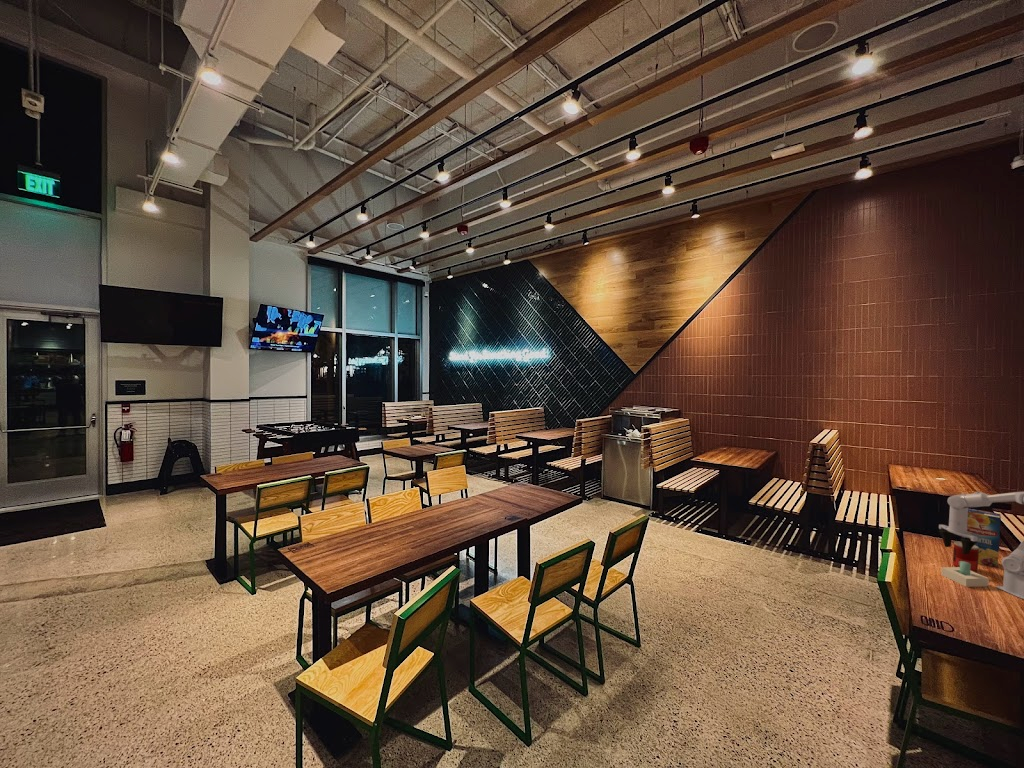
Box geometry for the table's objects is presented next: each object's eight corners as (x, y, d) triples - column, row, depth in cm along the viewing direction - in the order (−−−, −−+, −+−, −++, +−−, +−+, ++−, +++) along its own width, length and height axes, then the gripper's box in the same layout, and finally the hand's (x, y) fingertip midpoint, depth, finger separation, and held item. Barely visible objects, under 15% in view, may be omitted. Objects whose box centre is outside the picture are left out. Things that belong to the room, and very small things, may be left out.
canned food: (982, 572, 192) (983, 549, 192) (960, 570, 194) (962, 546, 194) (968, 565, 200) (970, 542, 199) (948, 563, 202) (949, 540, 201)
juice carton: (960, 559, 206) (963, 511, 204) (960, 554, 211) (963, 507, 209) (997, 568, 197) (1000, 517, 196) (997, 563, 202) (1000, 514, 201)
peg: (971, 582, 184) (972, 564, 184) (964, 582, 184) (966, 564, 184) (963, 578, 187) (964, 561, 187) (956, 578, 187) (957, 561, 187)
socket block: (988, 586, 181) (988, 578, 181) (965, 586, 181) (966, 578, 180) (962, 574, 191) (962, 567, 191) (941, 575, 191) (941, 567, 190)
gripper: (984, 527, 186) (983, 557, 186) (949, 515, 200) (947, 543, 201) (969, 527, 185) (967, 557, 186) (935, 515, 200) (933, 543, 201)
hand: (956, 550), depth 193 cm, fingers open, 7 cm apart
